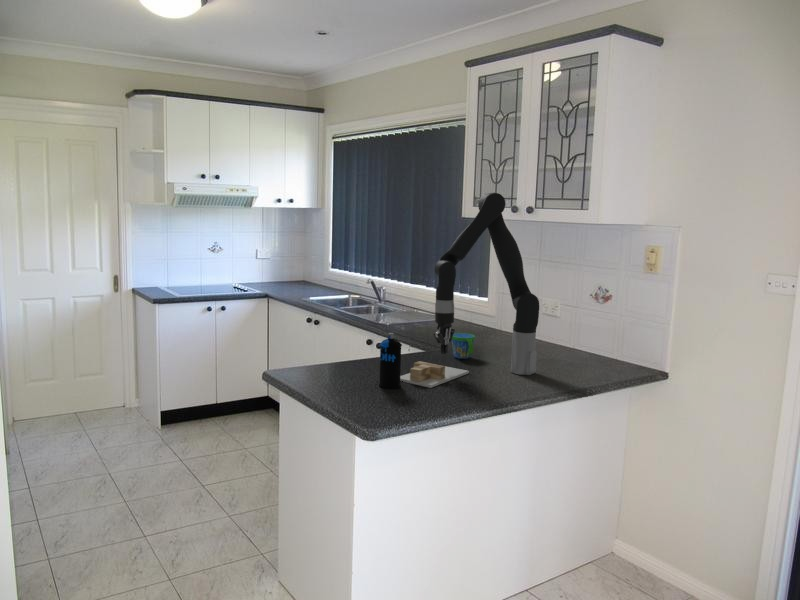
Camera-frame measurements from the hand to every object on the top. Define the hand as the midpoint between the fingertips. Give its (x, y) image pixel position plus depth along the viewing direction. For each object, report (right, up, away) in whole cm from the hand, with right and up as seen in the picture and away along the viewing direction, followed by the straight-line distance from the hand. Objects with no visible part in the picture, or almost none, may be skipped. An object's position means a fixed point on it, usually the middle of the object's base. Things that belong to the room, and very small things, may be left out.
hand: (444, 353), depth 265 cm
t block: (-9, -9, -10) cm, 16 cm away
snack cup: (+10, -4, +30) cm, 32 cm away
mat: (-5, -9, -4) cm, 11 cm away
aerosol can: (-22, -11, -19) cm, 31 cm away
